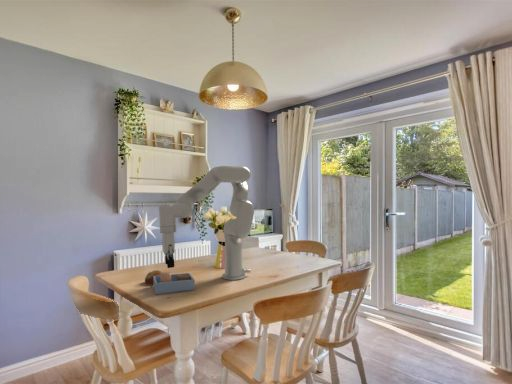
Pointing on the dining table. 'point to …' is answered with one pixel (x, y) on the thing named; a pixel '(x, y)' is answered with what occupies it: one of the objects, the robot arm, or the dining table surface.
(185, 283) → the tote
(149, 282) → the bread roll
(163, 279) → the terracotta cylinder
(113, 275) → the dining table surface
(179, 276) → the walnut cube
